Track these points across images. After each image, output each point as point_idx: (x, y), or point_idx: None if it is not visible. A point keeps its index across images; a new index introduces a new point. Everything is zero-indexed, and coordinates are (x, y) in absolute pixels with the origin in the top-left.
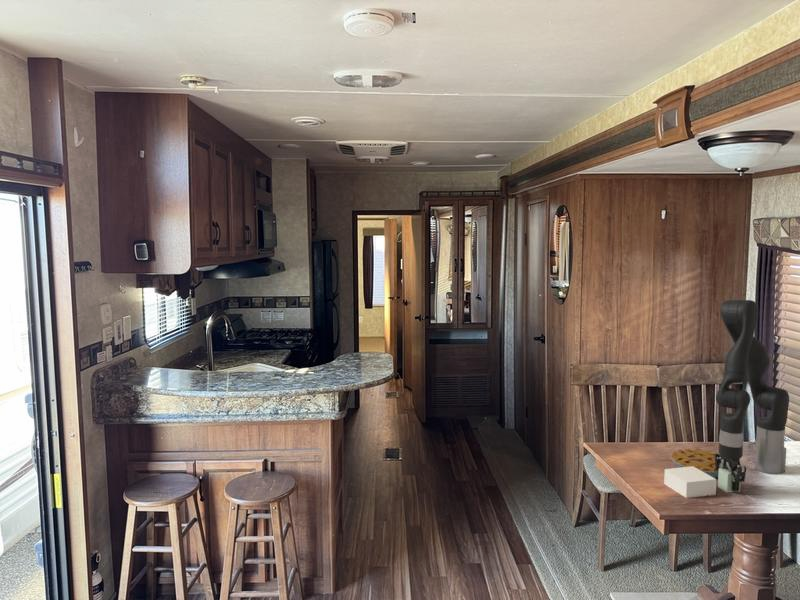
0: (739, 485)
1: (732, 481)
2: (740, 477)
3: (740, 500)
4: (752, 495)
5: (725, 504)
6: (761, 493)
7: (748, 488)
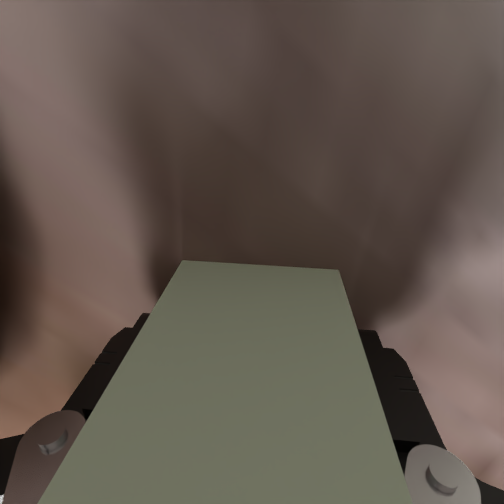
0: (352, 328)
1: None
2: (392, 441)
3: (495, 387)
4: (475, 205)
5: None
6: (495, 12)
7: (283, 93)
